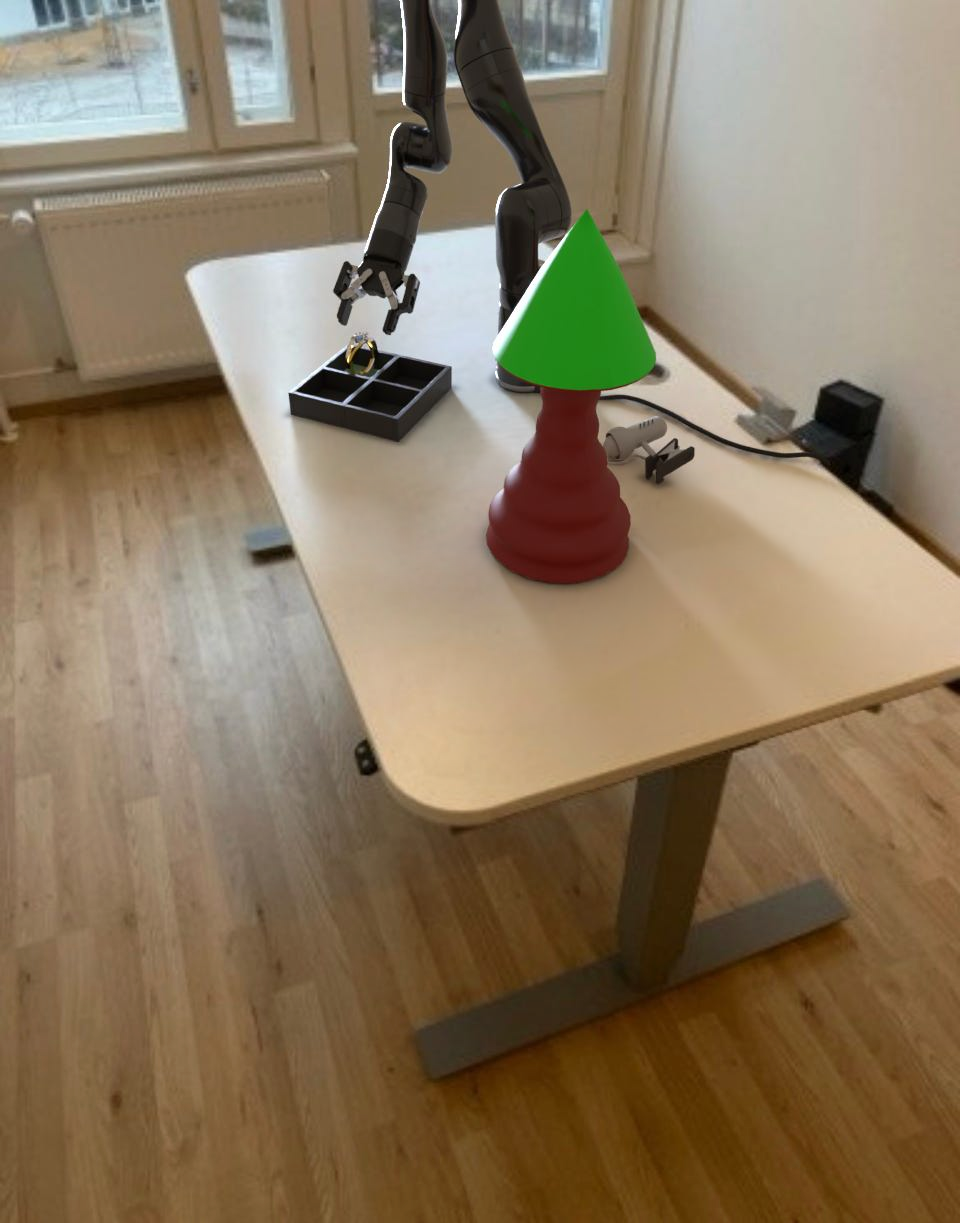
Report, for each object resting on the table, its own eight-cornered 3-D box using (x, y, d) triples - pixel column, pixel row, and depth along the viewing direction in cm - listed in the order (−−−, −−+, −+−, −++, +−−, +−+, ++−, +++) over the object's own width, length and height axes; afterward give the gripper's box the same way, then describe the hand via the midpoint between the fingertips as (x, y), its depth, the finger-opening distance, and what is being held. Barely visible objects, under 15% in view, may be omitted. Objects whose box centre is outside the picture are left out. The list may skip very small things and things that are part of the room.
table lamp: (541, 605, 124) (570, 255, 95) (458, 528, 136) (461, 197, 107) (658, 555, 133) (717, 220, 103) (570, 487, 145) (600, 170, 115)
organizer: (451, 388, 168) (451, 366, 165) (398, 442, 154) (397, 419, 151) (350, 364, 173) (349, 343, 171) (290, 414, 159) (288, 392, 157)
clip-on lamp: (594, 515, 145) (698, 469, 147) (592, 484, 140) (699, 437, 143) (558, 469, 152) (657, 426, 155) (554, 439, 147) (657, 395, 150)
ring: (371, 367, 171) (368, 324, 166) (383, 373, 169) (381, 330, 164) (342, 381, 167) (338, 337, 162) (354, 387, 165) (351, 343, 160)
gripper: (346, 220, 162) (317, 311, 162) (423, 233, 158) (393, 327, 157) (364, 242, 169) (336, 329, 169) (437, 255, 165) (409, 345, 165)
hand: (364, 328), depth 163 cm, fingers open, 8 cm apart
